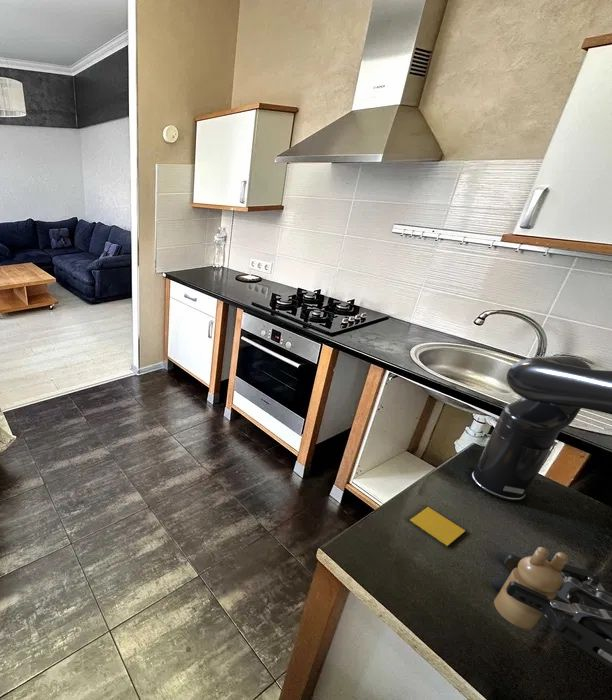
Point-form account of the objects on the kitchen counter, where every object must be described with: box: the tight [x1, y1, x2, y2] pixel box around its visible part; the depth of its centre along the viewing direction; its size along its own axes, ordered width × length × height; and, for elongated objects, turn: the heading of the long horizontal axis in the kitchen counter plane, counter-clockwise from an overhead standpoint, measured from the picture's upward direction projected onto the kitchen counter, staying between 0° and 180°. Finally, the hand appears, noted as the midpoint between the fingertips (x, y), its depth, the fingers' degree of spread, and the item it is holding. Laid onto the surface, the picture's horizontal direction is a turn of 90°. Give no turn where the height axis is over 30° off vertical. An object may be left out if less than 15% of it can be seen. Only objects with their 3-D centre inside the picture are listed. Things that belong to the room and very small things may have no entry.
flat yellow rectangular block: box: [409, 506, 466, 547], centre depth 77 cm, size 7×7×1 cm
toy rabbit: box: [493, 546, 570, 630], centre depth 54 cm, size 5×5×13 cm
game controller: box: [490, 550, 521, 593], centre depth 65 cm, size 10×5×6 cm
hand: (508, 573), depth 55 cm, fingers closed on toy rabbit, 4 cm apart
